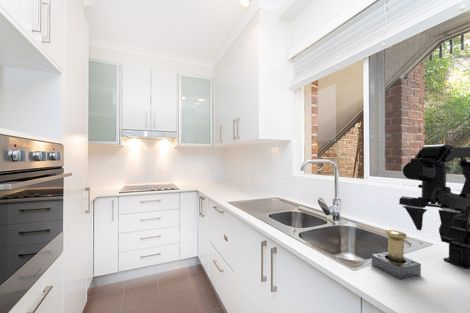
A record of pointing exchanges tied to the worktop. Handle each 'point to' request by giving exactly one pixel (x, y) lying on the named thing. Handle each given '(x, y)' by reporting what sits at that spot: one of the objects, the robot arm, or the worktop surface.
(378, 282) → the worktop surface
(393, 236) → the brass flanged cylinder
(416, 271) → the jig
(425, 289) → the worktop surface
